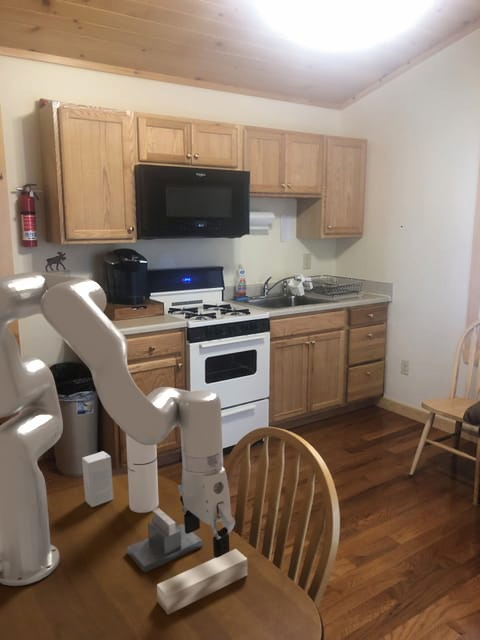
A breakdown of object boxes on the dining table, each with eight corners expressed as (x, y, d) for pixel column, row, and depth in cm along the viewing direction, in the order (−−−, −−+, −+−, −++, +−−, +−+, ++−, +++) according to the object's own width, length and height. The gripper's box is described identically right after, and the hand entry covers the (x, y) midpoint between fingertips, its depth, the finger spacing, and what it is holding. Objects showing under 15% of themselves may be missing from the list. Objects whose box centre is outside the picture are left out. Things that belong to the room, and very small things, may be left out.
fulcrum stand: (144, 572, 105) (143, 537, 104) (126, 553, 112) (125, 519, 110) (202, 546, 114) (201, 513, 112) (182, 529, 120) (181, 497, 119)
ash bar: (167, 616, 94) (167, 596, 94) (157, 603, 98) (156, 584, 97) (247, 576, 105) (247, 558, 104) (235, 565, 108) (235, 548, 107)
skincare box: (106, 493, 136) (104, 450, 134) (113, 499, 133) (111, 456, 131) (84, 501, 132) (81, 457, 130) (91, 508, 129) (88, 463, 127)
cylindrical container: (152, 514, 126) (148, 416, 122) (124, 511, 128) (119, 414, 123) (162, 498, 133) (159, 406, 128) (136, 496, 135) (132, 404, 130)
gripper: (247, 468, 91) (250, 555, 95) (193, 438, 105) (197, 515, 108) (212, 482, 87) (217, 573, 90) (161, 449, 100) (166, 529, 104)
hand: (206, 542), depth 99 cm, fingers open, 9 cm apart
